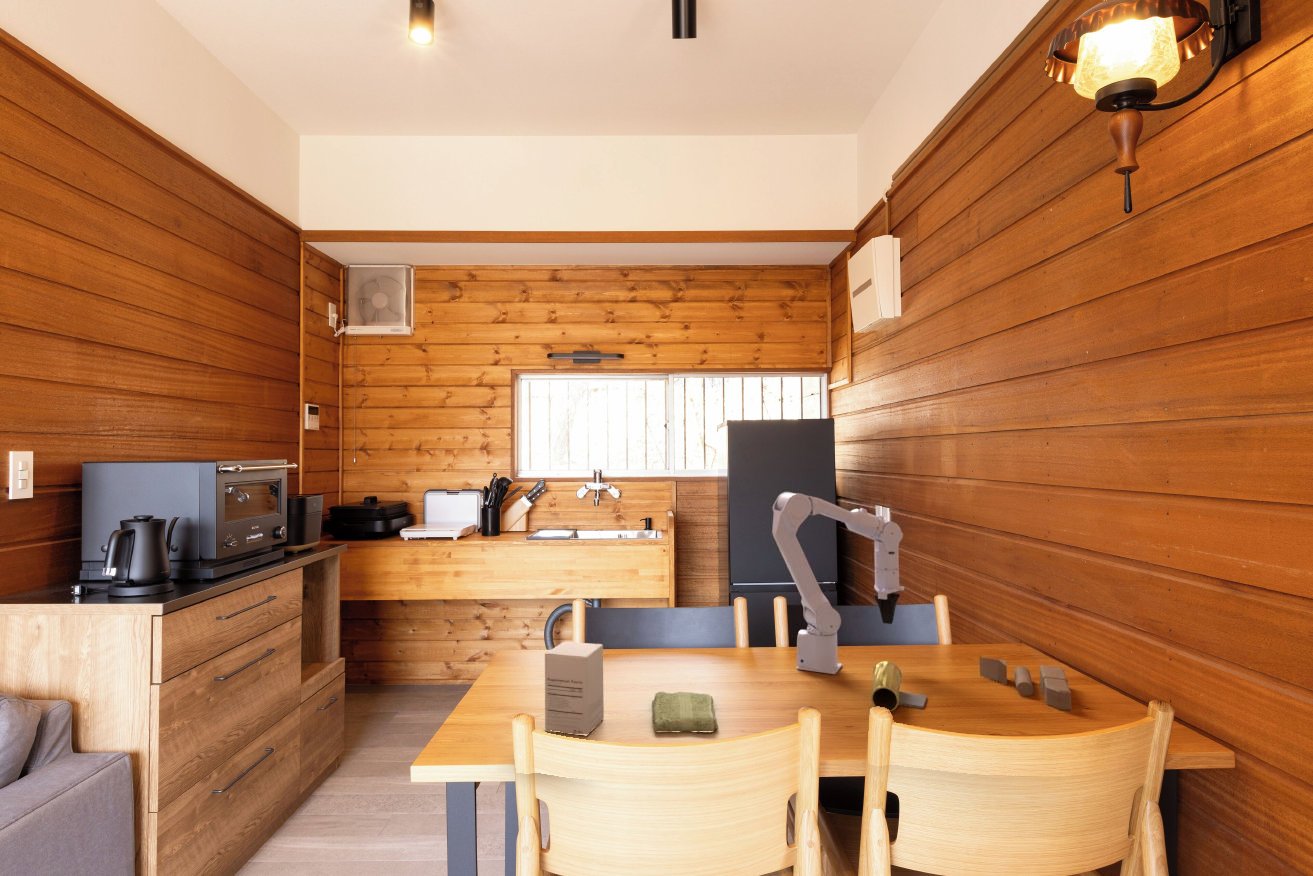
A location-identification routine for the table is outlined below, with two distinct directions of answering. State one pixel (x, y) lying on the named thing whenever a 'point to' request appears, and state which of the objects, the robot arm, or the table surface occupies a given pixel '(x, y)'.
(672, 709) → the washcloth
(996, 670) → the wooden block set
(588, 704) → the supplement box
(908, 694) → the mat
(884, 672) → the vase
